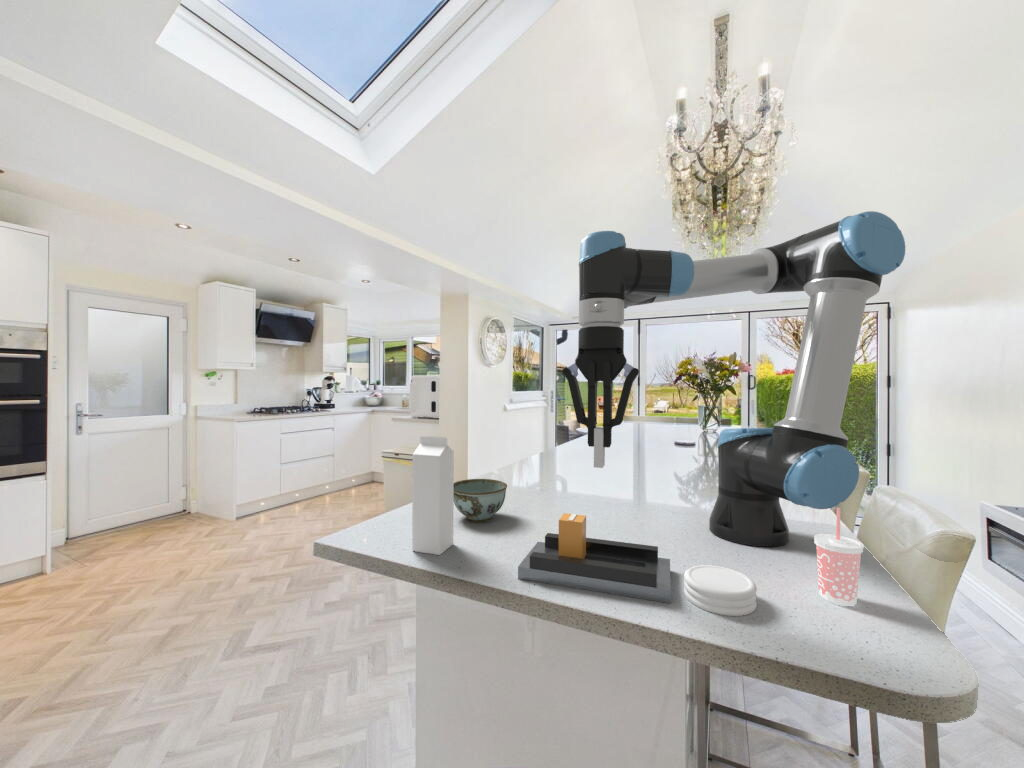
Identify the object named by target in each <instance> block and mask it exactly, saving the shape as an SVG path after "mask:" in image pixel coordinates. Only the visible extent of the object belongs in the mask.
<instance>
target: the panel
mask: <svg viewBox="0 0 1024 768" xmlns="http://www.w3.org/2000/svg"><path fill="white" fill-rule="evenodd" d="M517 579H519V580H524V581H525V580H526V581H531V582H537V583H542V584H549V585H554V586H561V587H568V588H572V589H573V588H574V589H579V590H587V591H592V592H597V593H603V594H611V595H615V596H616V595H617V596H622V597H629V598H635V599H641V600H647V601H654V602H659V603H664V602H665V604H671V598H672V597H671V589H672V588H671V559H670V558H667V557H666V558H664V557H659V546H656V545H655V546H654V545H650V544H649V545H647V544H641V543H640V544H639V543H631V542H625V541H624V542H623V541H615V540H606V539H599V538H594V537H593V538H592V537H591V538H590V537H586V556H585V558H584V559H581V558H574V557H567V556H560V555H559V533H550V532H547V533H546V535H544V541H537V542H536V543H535V545H534V546H533V547H532V548H531V550H530V551H528V554H527V555H526V556H525V557H524V558H523V560H522V561H521V562H520V564H519V565H518V566H517Z"/></svg>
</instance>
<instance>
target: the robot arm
mask: <svg viewBox="0 0 1024 768" xmlns="http://www.w3.org/2000/svg"><path fill="white" fill-rule="evenodd" d="M905 256H906V243H905V237H904V234H903V233H902V231H901V229H900V228H899V226H898V225H897V223H896V222H895V221H894V220H893V219H892V218H891V217H890V216H889V215H886V214H884V213H882V212H879V211H873V210H871V211H862V212H860V213H857V214H853V215H848V216H845V217H843V218H842V219H840V220H839V221H836V222H833V223H831V224H828V225H825V226H823V227H820V228H817V229H815V230H811V231H809V232H807V233H804V234H801V235H799V236H796V237H794V238H792V239H789V240H786V241H784V242H781V243H778V244H776V245H772V246H769V247H767V246H766V247H760V248H756V249H755V250H753V251H751V252H750V254H743V255H742V254H741V255H735V256H734V255H733V256H725V257H724V256H723V257H716V258H708V259H707V258H706V259H698V260H697V259H696V260H693V259H692V257H691V255H689V254H688V253H685V252H680V251H673V250H671V249H670V250H655V249H643V248H641V249H638V248H631V247H627V242H626V238H625V236H624V234H623V233H621V232H617V231H614V230H600V231H594V232H591V233H588V234H587V235H586V236H585V237H583V239H581V241H580V247H579V258H578V260H579V261H578V269H579V271H578V275H579V278H578V280H579V282H578V283H579V284H578V285H579V288H578V289H579V295H578V296H579V297H578V298H579V299H578V325H579V326H581V328H579V330H578V350H577V351H578V352H577V355H576V357H575V360H574V363H572V364H571V365H569V366H568V367H564V368H562V371H561V372H562V374H563V376H564V377H565V379H566V381H567V383H568V387H569V391H570V396H571V400H572V405H573V409H574V414H575V417H576V419H575V420H576V422H577V423H578V424H579V425H580V424H581V425H583V426H585V427H586V428H587V445H588V447H591V448H592V447H593V468H596V469H597V468H598V469H603V468H604V467H605V466H606V465H605V463H606V461H605V459H606V458H605V457H606V456H605V455H606V449H605V448H610V447H611V445H612V432H613V430H612V429H613V427H616V426H620V425H622V423H623V422H624V417H625V414H626V412H627V411H626V410H627V407H628V402H629V398H630V396H631V395H630V394H631V391H632V387H633V385H634V384H633V383H634V382H635V380H636V379H637V377H638V376H639V374H640V369H638V368H637V367H634V366H632V365H631V364H629V363H628V361H627V357H626V356H625V353H624V349H625V348H624V346H625V345H624V344H625V343H624V337H625V335H624V334H625V329H624V328H622V327H621V326H622V325H624V323H625V309H627V308H629V307H632V306H633V307H635V306H640V305H648V304H653V303H662V302H670V301H671V302H672V301H678V300H685V299H693V298H702V297H711V296H717V295H725V294H734V293H741V292H752V293H754V294H756V295H764V294H774V293H776V294H777V293H793V292H805V293H806V294H807V296H809V304H808V309H807V312H806V313H807V314H806V317H805V322H804V327H803V331H802V335H801V340H800V345H799V350H798V355H797V359H796V365H795V368H794V373H793V378H792V383H791V386H790V392H789V397H788V401H787V406H786V410H785V411H786V412H785V417H783V419H781V420H779V421H778V422H776V423H774V424H773V427H751V428H750V427H749V428H748V427H746V428H745V427H744V428H724V429H723V430H720V432H719V436H718V444H717V448H718V449H717V451H718V461H717V462H718V471H717V472H718V483H717V484H718V486H717V487H718V489H717V490H718V491H717V492H718V494H717V497H716V501H715V503H714V506H713V508H712V511H711V513H710V517H709V519H708V520H709V526H708V527H709V531H710V532H711V533H712V534H713V535H715V536H717V537H719V538H722V539H723V540H727V541H729V542H732V543H733V542H734V543H738V544H743V545H747V546H748V545H749V546H755V547H779V546H783V544H784V545H786V544H788V543H787V542H789V541H790V533H789V532H790V530H789V529H790V528H789V526H788V524H787V521H786V518H785V514H784V512H783V509H782V506H781V503H780V499H783V500H786V501H788V502H791V503H793V504H794V505H796V506H801V507H802V506H803V507H808V508H811V509H817V510H828V509H832V508H835V507H838V506H839V505H840V504H841V503H844V502H845V501H846V500H847V499H848V498H850V496H851V495H852V494H853V493H854V491H855V490H856V486H857V484H858V481H859V477H860V466H859V464H858V463H857V457H856V456H855V455H854V453H852V451H850V450H849V449H847V447H848V443H849V437H848V436H847V435H846V434H845V433H844V432H843V430H842V429H841V425H842V419H843V415H844V414H843V413H844V410H845V407H846V406H845V404H846V400H847V396H848V391H849V385H850V382H851V381H850V380H851V376H852V372H853V367H854V362H855V356H856V352H857V347H858V344H859V342H858V341H859V337H860V334H861V333H860V332H861V328H862V325H863V319H864V314H865V309H866V305H867V301H868V300H869V299H871V298H873V297H874V296H876V295H877V294H878V293H879V292H880V289H881V284H882V279H883V276H886V275H889V274H891V273H892V272H894V271H896V270H897V268H899V267H900V266H901V265H902V263H903V262H904V259H905ZM578 370H579V371H580V372H581V374H582V375H583V377H584V378H585V380H587V416H586V412H585V407H584V404H583V403H584V402H583V398H582V394H581V389H580V386H579V380H578V378H577V376H578V375H579V373H578ZM622 370H624V372H623V376H624V377H625V379H624V382H623V386H622V391H621V393H620V397H619V401H618V405H617V408H616V412H615V416H614V418H613V386H614V385H613V383H614V380H616V378H617V377H618V376H619V375H620V373H621V372H622ZM598 382H602V389H603V390H602V391H603V394H602V395H603V397H602V398H603V399H602V402H603V403H602V412H603V413H602V415H603V416H602V426H597V424H598V422H597V421H598V418H597V417H598V414H597V413H598V384H599V383H598Z"/></svg>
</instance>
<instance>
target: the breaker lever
mask: <svg viewBox="0 0 1024 768" xmlns="http://www.w3.org/2000/svg"><path fill="white" fill-rule="evenodd" d="M558 534H559V555H560V556H567V557H574V558H581V559H584V558H585V556H586V538H587V515H584V514H583V515H582V514H577V513H567V512H566V513H565V512H563V514H562V515H561V516H560V517H559V519H558Z"/></svg>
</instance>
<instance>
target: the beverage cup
mask: <svg viewBox="0 0 1024 768" xmlns="http://www.w3.org/2000/svg"><path fill="white" fill-rule="evenodd" d="M835 530H836V532H835V533H836V534H831V533H817V534H815V535H813V542H814V543H813V544H815V545H816V562H817V566H816V567H817V580H818V581H817V582H818V595H819V594H820V595H821V596H822V597H823V598H825V599H826V600H829V601H832V602H835V603H838V604H841V605H854V604H855V603H856V604H857V600H858V590H859V582H860V580H859V578H860V572H861V571H860V568H861V561H862V560H861V557H862V553H864V547H865V546H864V543H862V542H861V541H859V540H856V539H853V538H851V537H847V536H843V535H841V507H838V506H836V527H835Z"/></svg>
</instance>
